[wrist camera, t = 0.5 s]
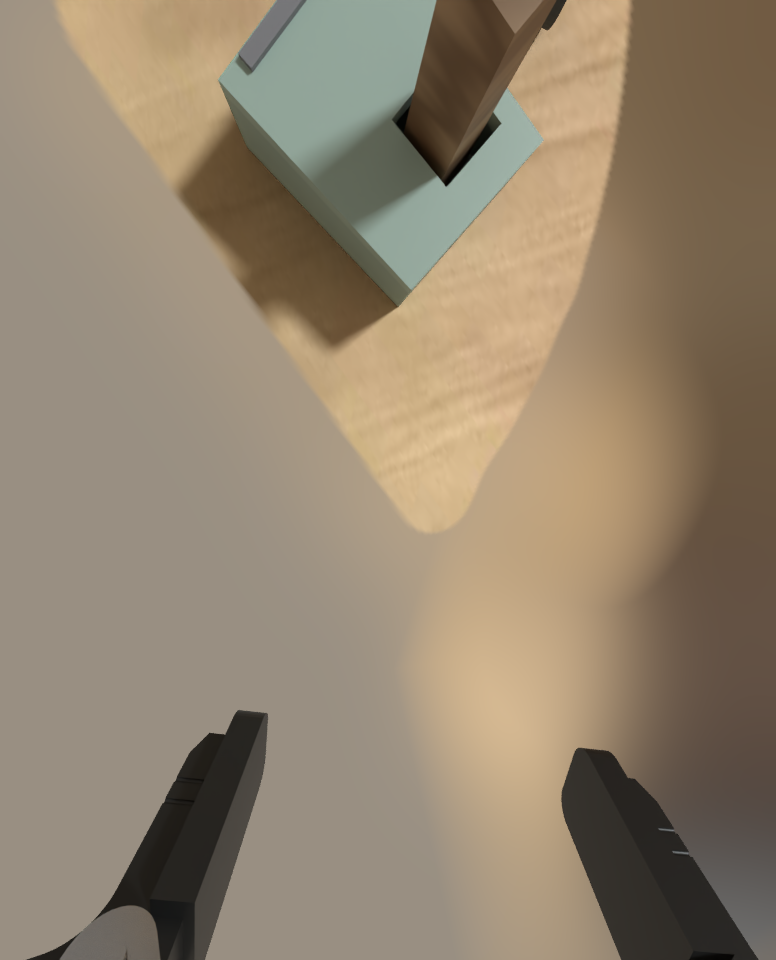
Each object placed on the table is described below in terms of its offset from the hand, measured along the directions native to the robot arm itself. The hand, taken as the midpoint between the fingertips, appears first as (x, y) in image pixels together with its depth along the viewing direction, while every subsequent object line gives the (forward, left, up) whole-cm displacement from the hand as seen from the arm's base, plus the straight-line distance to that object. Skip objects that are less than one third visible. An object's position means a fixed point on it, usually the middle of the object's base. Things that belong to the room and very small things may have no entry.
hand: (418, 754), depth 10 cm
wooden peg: (-12, +20, -23) cm, 33 cm away
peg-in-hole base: (-15, +18, -24) cm, 33 cm away
